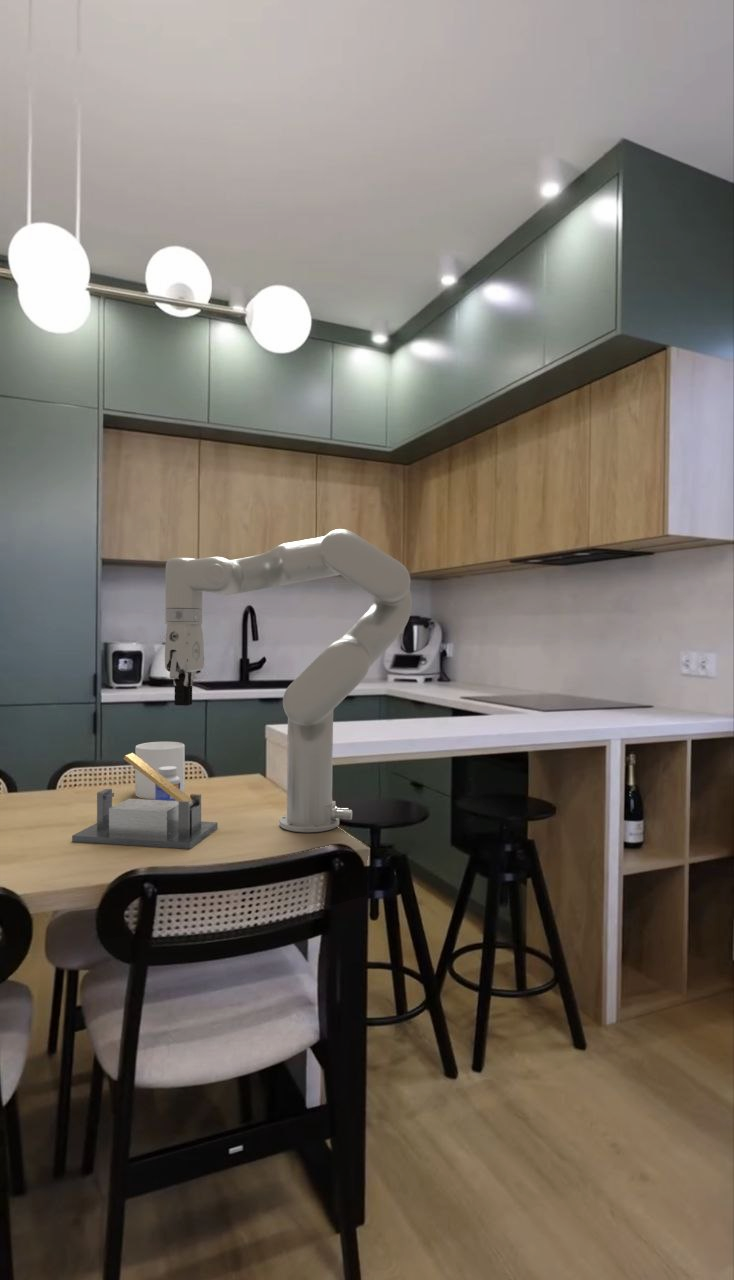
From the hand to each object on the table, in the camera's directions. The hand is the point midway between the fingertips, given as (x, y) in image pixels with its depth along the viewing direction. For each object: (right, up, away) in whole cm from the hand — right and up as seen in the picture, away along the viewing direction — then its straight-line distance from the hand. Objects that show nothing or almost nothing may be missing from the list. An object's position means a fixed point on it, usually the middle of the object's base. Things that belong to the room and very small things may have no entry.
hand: (183, 704), depth 151 cm
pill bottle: (-6, -25, +11) cm, 28 cm away
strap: (-3, -15, -8) cm, 17 cm away
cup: (-13, -25, +27) cm, 39 cm away
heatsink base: (-5, -25, -7) cm, 27 cm away
